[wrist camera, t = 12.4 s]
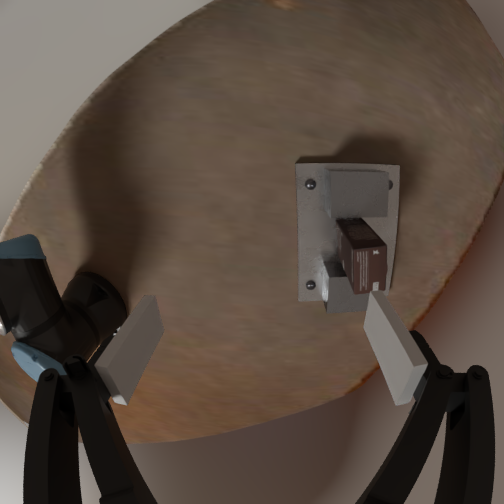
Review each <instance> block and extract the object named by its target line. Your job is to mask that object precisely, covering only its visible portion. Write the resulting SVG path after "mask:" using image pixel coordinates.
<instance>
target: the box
mask: <svg viewBox="0 0 504 504" xmlns="http://www.w3.org/2000/svg"><path fill="white" fill-rule="evenodd" d="M335 222H336V231H337V244H338V256H339V259H340V261H341V263H342V266H343V268H344V270H345V273H346V275H347V277H348V280H349V282H350V285H351V287H352V290H353V293H354V295H358V294H366V293H370V291H377V290H382V291H385V290H386V275H387V271H388V265H387V244H386V243H385V242H384V241H383V240H382V239H381V238H380V237H379V236H378V234H377V233H376V232H375V231H374V230H373V229H372V228H371V227H370V226H369V225H368V224H367V223H366V222H365V221H364V220H363V219H362V218H347V219H338V220H335Z"/></svg>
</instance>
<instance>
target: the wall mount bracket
mask: <svg viewBox="0 0 504 504" xmlns="http://www.w3.org/2000/svg"><path fill="white" fill-rule="evenodd" d="M295 174H296V198H297V233H298V301H318V300H323V301H324V305H325V309H326V313H341V312H355V311H367V307H368V301H369V295H370V293H366V294H358V295H354V293H353V290H352V287H351V285H350V282H349V280H348V277H347V275H346V273H345V270H344V268H343V266H342V263H341V261H340V259H339V256H338V244H337V231H336V222H335V220H338V219H347V218H362V219H363V220H364V221H365V222H366V223H367V224H368V225H369V226H370V227H371V228H372V229H373V230H374V231H375V232H376V233H377V234H378V236H379V237H380V238H381V239H382V240H383V241H384V242H385V243H386V244H387V265H388V271H387V275H386V290H385V291H382V292H383V293H384V295H385V296H388V293H389V288H390V281H391V275H392V268H393V261H394V253H395V244H396V234H397V222H398V207H399V182H400V165H391V164H369V163H295Z"/></svg>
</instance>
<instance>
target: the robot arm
mask: <svg viewBox="0 0 504 504" xmlns="http://www.w3.org/2000/svg"><path fill="white" fill-rule="evenodd" d="M46 259H47V258H46V256H45V255H44V253H43V251H42V248H41V246H40V243H39V240H38V238H37V237H36V236H34V235H32V234H27V235H23V236H20V237H17V238H13V239H10V240H7V241H4V242H1V243H0V334H1V335H6V334H7V333H8V332H10V331H11V332H12V334H13V336H14V338H15V340H16V341H15V342H13V345H12V347H11V351H12V353H13V356H14V358H15V360H16V361H17V363H18V364H19V365H20V366H21V368H22V369H23V370H24V371H25V372H26V373H27V374H28V375H29V376H30V377H31V378H33V379H34V380H35V381H36V382H38V383H37V387H36V391H35V395H34V400H33V405H32V410H31V415H30V421H29V427H28V434H27V442H26V451H25V462H24V481H23V482H24V483H23V501H24V503H23V504H82V498H81V488H80V476H79V456H78V425H79V429H80V433H81V436H82V440H83V444H84V447H85V450H86V454H87V456H88V460H89V463H90V466H91V468H92V471H93V474H94V477H95V480H96V482H97V485H98V487H99V490H100V492H101V498H100V499H99V502H100V504H157V502H156V500H155V498H154V497H153V495H152V493H151V492H150V490H149V488H148V486H147V484H146V483H145V481H144V479H143V477H142V475H141V474H140V471H139V470H138V468H137V466H136V464H135V462H134V460H133V457H132V455H131V454H130V451H129V449H128V447H127V445H126V442H125V440H124V438H123V435H122V433H121V431H120V428H119V426H118V423H117V421H116V418H115V416H114V413H113V410H112V408H111V405H110V403H109V401H108V400H109V398H110V396H111V397H112V398H113V400H114V402H115V403H119V404H124V405H128V403H129V401H130V398H131V396H132V394H133V392H134V390H135V388H136V386H137V384H138V382H139V380H140V378H141V376H142V374H143V372H144V370H145V368H146V366H147V364H148V362H149V360H150V358H151V356H152V354H153V352H154V350H155V348H156V346H157V344H158V342H159V340H160V338H161V336H162V334H163V333H164V328H163V324H162V320H161V316H160V313H159V309H158V305H157V301H156V296H152V295H145V296H144V297H143V298H142V299H141V301H140V302H139V303H138V305H137V306H136V307H135V309H134V310H133V311H132V313H131V314H130V315H129V317H128V318H127V313H126V308H125V305H124V302H123V300H122V298H121V296H120V295H119V293H118V292H117V290H116V289H115V288H114V287H113V286H112V285H111V284H110V283H109V282H108V281H107V280H106V279H104V278H103V277H101V276H99V275H97V274H95V273H91V272H83V273H80V274H78V275H77V276H75V277H74V278H73V279H72V280H71V281H70V282H69V284H68V286H67V288H66V290H65V291H64V293H63V295H62V297H60V295H59V292H58V290H57V287H56V285H55V282H54V280H53V277H52V275H51V272H50V269H49V266H48V264H47V261H46ZM126 319H127V320H126ZM364 330H365V332H366V334H367V337H368V339H369V341H370V343H371V346H372V348H373V350H374V353H375V355H376V357H377V360H378V362H379V365H380V367H381V369H382V372H383V374H384V377H385V379H386V381H387V384H388V387H389V389H390V392H391V394H392V397H393V400H394V402H395V405H396V406H398V405H402V404H406V403H409V402H410V400H411V398H412V396H414V398H415V400H416V402H415V404H414V405H413V407H412V409H411V411H410V412H409V416H408V418H407V420H406V422H405V424H404V426H403V428H402V430H401V432H400V434H399V436H398V438H397V440H396V442H395V443H394V445H393V447H392V449H391V451H390V452H389V454H388V456H387V457H386V459H385V461H384V462H383V464H382V466H381V467H380V469H379V470H378V472H377V473H376V475H375V477H374V478H373V479H372V481H371V482H370V484H369V485H368V487H367V488H366V490H365V491H364V492H363V494H362V495H361V497H360V498H359V499H358V500H357V502H356V503H355V504H404V502H405V500H406V499H407V497H408V495H409V494H410V492H411V490H412V488H413V486H414V484H415V482H416V481H417V478H418V477H419V474H420V473H421V470H422V468H423V466H424V464H425V462H426V460H427V457H428V455H429V453H430V451H431V448H432V446H433V443H434V441H435V438H436V436H437V433H438V431H439V428H440V425H441V422H442V419H443V416H444V413H445V412H447V420H446V435H445V445H444V453H443V460H442V467H441V473H440V479H439V484H438V489H437V493H436V498H435V502H434V504H491V500H492V492H493V482H494V468H495V429H494V428H495V427H494V413H493V403H492V395H491V387H490V380H489V375H488V372H487V371H486V369H485V368H483V367H482V366H479V365H473V366H471V367H470V368H469V369H468V371H467V373H454V371H453V370H452V369H451V368H450V367H448V366H446V365H442V364H440V362H439V361H438V359H437V358H436V356H435V354H434V353H433V351H432V350H431V348H429V345H428V343H426V340H425V339H424V337H423V336H422V335H421V334H420V333H418V332H417V331H416V330H413V331H408V330H407V328H406V326H405V325H404V323H403V322H402V320H401V319H400V317H399V316H398V314H397V313H396V311H395V309H394V308H393V306H392V305H391V304H390V302H389V301H388V299H387V298H386V296H385V295H384V293H383V292H382V290H377V291H370V295H369V301H368V307H367V312H366V318H365V323H364ZM100 344H101V345H100ZM99 345H100V347H99V348H98V349H97V351H96V352H95V353H94V354H93V352H94V351H95V350H96V348H97V347H98V346H99ZM92 354H93V356H92V357H91V359H90V360H89V361H88V363H87V360H88V359H89V358H90V356H91V355H92Z"/></svg>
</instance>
